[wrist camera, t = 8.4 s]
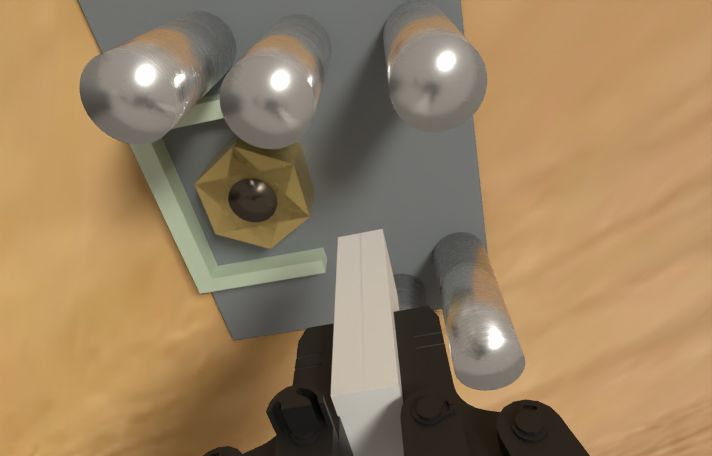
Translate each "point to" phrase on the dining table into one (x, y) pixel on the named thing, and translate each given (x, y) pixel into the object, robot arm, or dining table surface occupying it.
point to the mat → (325, 157)
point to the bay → (189, 231)
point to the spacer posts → (293, 118)
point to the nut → (256, 192)
